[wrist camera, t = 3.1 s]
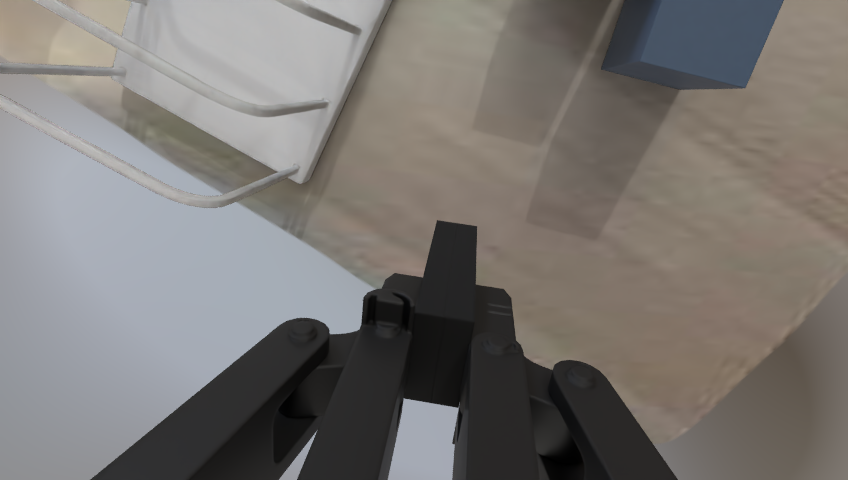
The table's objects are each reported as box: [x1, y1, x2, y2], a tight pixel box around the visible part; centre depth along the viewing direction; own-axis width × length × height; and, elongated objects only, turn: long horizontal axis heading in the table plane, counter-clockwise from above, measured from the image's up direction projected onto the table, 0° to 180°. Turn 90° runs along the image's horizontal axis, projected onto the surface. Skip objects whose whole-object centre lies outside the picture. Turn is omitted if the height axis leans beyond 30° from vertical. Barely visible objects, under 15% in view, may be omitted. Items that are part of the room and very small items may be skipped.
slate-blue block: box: [601, 0, 784, 90], centre depth 30 cm, size 6×6×9 cm
